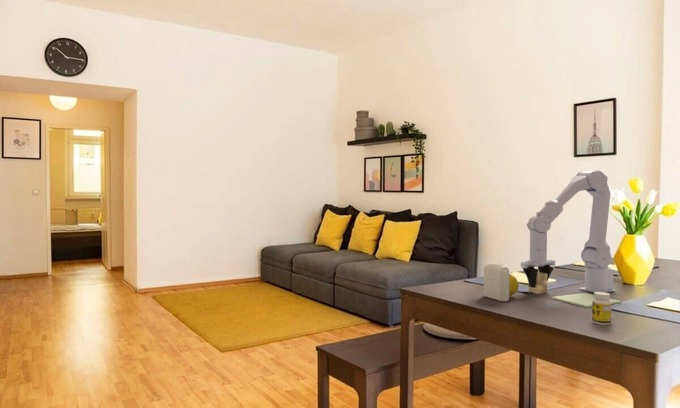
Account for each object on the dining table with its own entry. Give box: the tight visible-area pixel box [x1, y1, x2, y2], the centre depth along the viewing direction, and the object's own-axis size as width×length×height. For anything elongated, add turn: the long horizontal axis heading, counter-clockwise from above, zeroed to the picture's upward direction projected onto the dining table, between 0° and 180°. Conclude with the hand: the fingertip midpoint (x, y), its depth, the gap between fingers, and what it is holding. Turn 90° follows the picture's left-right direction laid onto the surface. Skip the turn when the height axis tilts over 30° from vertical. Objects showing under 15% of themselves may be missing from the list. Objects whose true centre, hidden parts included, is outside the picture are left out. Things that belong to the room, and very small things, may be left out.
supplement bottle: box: [591, 292, 612, 326], centre depth 139 cm, size 5×5×8 cm
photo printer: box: [483, 261, 510, 302], centre depth 170 cm, size 10×4×12 cm, turn 20°
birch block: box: [528, 271, 548, 295], centre depth 180 cm, size 4×4×7 cm
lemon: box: [509, 273, 519, 298], centre depth 172 cm, size 6×6×8 cm
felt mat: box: [551, 292, 622, 309], centre depth 166 cm, size 16×14×1 cm
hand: (537, 286), depth 180 cm, fingers open, 5 cm apart
